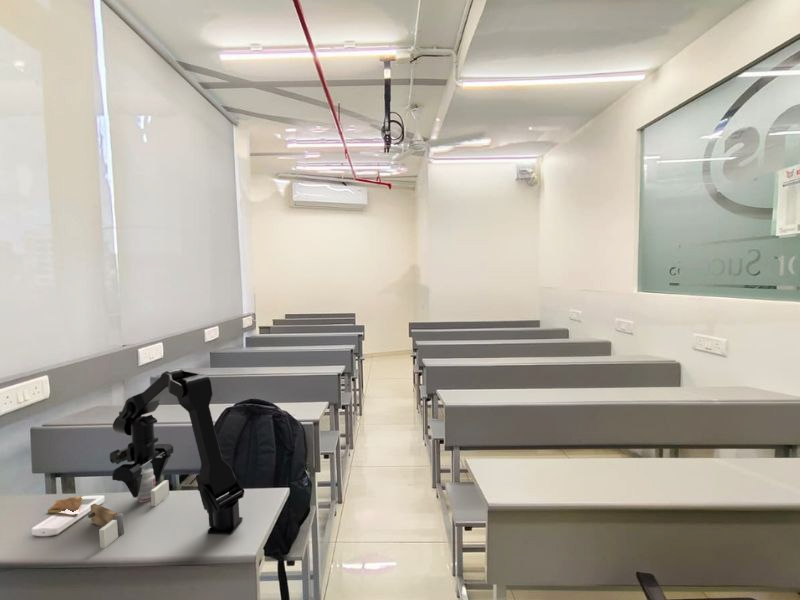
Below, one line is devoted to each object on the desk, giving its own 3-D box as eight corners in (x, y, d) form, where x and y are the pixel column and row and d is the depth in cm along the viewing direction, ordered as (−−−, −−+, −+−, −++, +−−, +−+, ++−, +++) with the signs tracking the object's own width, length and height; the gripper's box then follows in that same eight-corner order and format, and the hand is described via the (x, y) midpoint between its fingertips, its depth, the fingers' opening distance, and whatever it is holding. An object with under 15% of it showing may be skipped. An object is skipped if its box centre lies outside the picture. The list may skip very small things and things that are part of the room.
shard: (78, 517, 115) (78, 511, 115) (42, 526, 111) (42, 520, 111) (84, 499, 124) (83, 494, 124) (51, 507, 120) (50, 501, 120)
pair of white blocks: (170, 494, 125) (169, 478, 124) (106, 548, 100) (104, 528, 100) (164, 494, 125) (163, 478, 125) (99, 547, 100) (97, 527, 100)
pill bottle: (158, 497, 123) (156, 470, 123) (140, 504, 120) (138, 476, 119) (153, 492, 127) (151, 465, 126) (135, 498, 123) (133, 471, 123)
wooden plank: (118, 529, 107) (117, 512, 107) (109, 534, 105) (107, 517, 105) (95, 520, 112) (94, 503, 112) (86, 524, 110) (85, 507, 110)
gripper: (139, 426, 132) (142, 473, 133) (91, 450, 114) (95, 505, 114) (173, 426, 131) (175, 474, 132) (129, 450, 113) (133, 506, 113)
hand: (146, 488), depth 123 cm, fingers open, 9 cm apart
